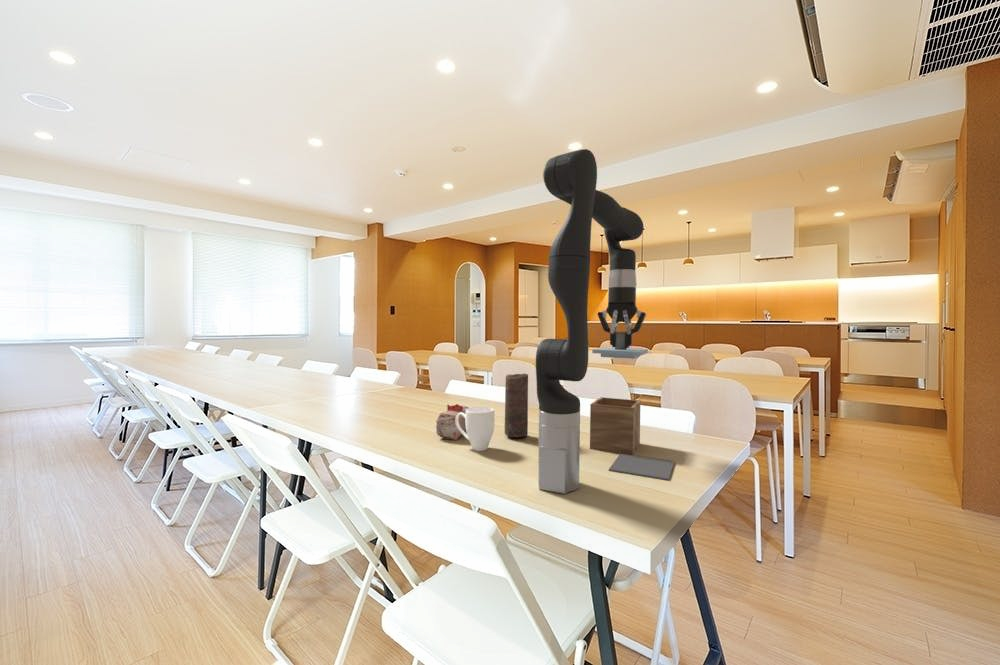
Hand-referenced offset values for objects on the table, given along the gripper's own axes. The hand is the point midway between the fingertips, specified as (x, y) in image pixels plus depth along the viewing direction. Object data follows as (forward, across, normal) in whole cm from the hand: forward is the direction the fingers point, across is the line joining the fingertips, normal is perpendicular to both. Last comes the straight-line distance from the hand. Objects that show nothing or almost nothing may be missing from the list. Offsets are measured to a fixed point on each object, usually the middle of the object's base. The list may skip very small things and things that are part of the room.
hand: (620, 347), depth 125 cm
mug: (+30, -38, -17) cm, 51 cm away
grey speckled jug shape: (+30, -50, -8) cm, 59 cm away
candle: (+30, -32, -1) cm, 44 cm away
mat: (+30, +8, -11) cm, 33 cm away
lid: (+3, 0, 0) cm, 3 cm away
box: (+30, -2, +4) cm, 30 cm away
